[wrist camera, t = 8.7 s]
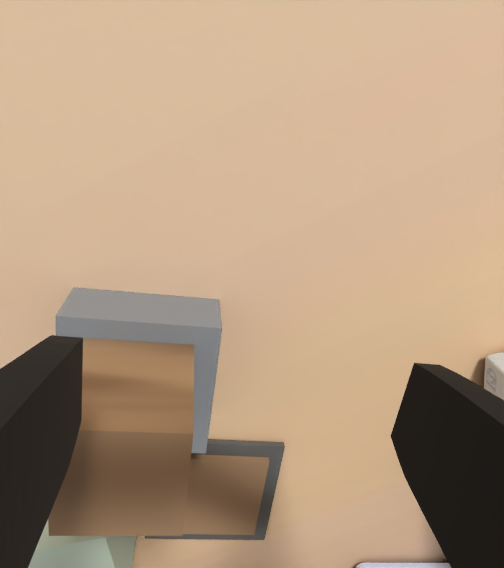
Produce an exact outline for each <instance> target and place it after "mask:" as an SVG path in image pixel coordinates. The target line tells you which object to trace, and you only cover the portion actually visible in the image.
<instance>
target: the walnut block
mask: <svg viewBox="0 0 504 568" xmlns="http://www.w3.org/2000/svg"><path fill="white" fill-rule="evenodd" d="M193 432H194V345H191V344H174V343H158V342H141V341H125V340H108V339H92V338H85V340H84V342H83V368H82V421H81V424H80V428H79V432H78V436H77V440H76V444H75V447H74V451H73V455H72V458H71V462H70V465H69V468H68V470H67V473H66V476H65V478H64V481H63V483H62V486H61V488H60V490H59V493H58V495H57V498H56V500H55V503H54V505H53V508H52V510H51V513H50V515H49V518H48V529H49V536H183V528H184V518H185V509H186V499H187V490H188V481H189V471H190V462H191V452H192V443H193Z"/></svg>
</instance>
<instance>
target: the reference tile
mask: <svg viewBox="0 0 504 568" xmlns="http://www.w3.org/2000/svg"><path fill="white" fill-rule="evenodd" d="M284 447H285V446H284V443H281V442H259V441H237V440H215V439H208V441H207V449H206V454H205V453H191V462H190V471H189V481H188V490H187V499H186V509H185V518H184V528H183V536H145V538H164V539H244V540H264V539H265V534H266V530H267V525H268V520H269V516H270V511H271V507H272V502H273V498H274V493H275V489H276V484H277V479H278V475H279V470H280V466H281V461H282V457H283V452H284Z"/></svg>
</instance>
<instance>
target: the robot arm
mask: <svg viewBox="0 0 504 568" xmlns="http://www.w3.org/2000/svg"><path fill="white" fill-rule="evenodd" d="M82 368H83V338H80V337H67V336H54V335H51V336H50V337H48V338H46V339H45V340H43V341H42V342H40V343H39V344H37V345H36V346H34V347H33V348H31V349H30V350H28V351H27V352H25V353H24V354H22V355H21V356H19V357H18V358H16V359H15V360H13V361H12V362H10V363H9V364H7V365H6V366H4V367H3V368H1V369H0V568H28V567H29V564H30V562H31V559H32V557H33V554H34V552H35V549H36V547H37V544H38V542H39V540H40V537H41V535H42V532H43V530H44V527H45V525H46V522H47V520H48V518H49V515H50V513H51V510H52V508H53V505H54V503H55V500H56V498H57V495H58V493H59V490H60V488H61V486H62V483H63V481H64V478H65V476H66V473H67V470H68V468H69V465H70V462H71V458H72V455H73V451H74V447H75V444H76V440H77V436H78V432H79V428H80V424H81V421H82ZM391 438H392V441H393V444H394V447H395V450H396V453H397V456H398V459H399V462H400V465H401V467H402V470H403V473H404V476H405V478H406V480H407V482H408V484H409V486H410V488H411V490H412V492H413V494H414V496H415V498H416V500H417V502H418V504H419V506H420V508H421V510H422V512H423V514H424V516H425V518H426V520H427V522H428V524H429V526H430V528H431V529H432V531H433V533H434V535H435V537H436V539H437V541H438V543H439V545H440V547H441V549H442V551H443V553H444V555H445V556H446V558H447V560H448V562H449V563H387V562H364V563H360V564H358V565H357V566H356V568H504V400H503V399H501V398H499V397H498V396H496V395H494V394H492V393H491V392H489V391H487V390H486V389H484V388H482V387H481V386H479V385H477V384H475V383H474V382H472V381H470V380H468V379H466V378H465V377H463V376H461V375H459V374H457V373H455V372H453V371H451V370H449V369H447V368H445V367H443V366H440V365H433V364H420V363H414V365H413V368H412V371H411V375H410V378H409V381H408V384H407V387H406V390H405V393H404V396H403V400H402V403H401V406H400V409H399V412H398V415H397V418H396V421H395V424H394V428H393V431H392V434H391Z"/></svg>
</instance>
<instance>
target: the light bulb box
mask: <svg viewBox="0 0 504 568" xmlns="http://www.w3.org/2000/svg"><path fill="white" fill-rule="evenodd" d="M484 389H486V390H487V391H489V392H491V393H492V394H494V395H496V396H498V397H499V398H501V399H503V400H504V352H500V353H495V354H490V355H487V356H486V358H485V372H484Z"/></svg>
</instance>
